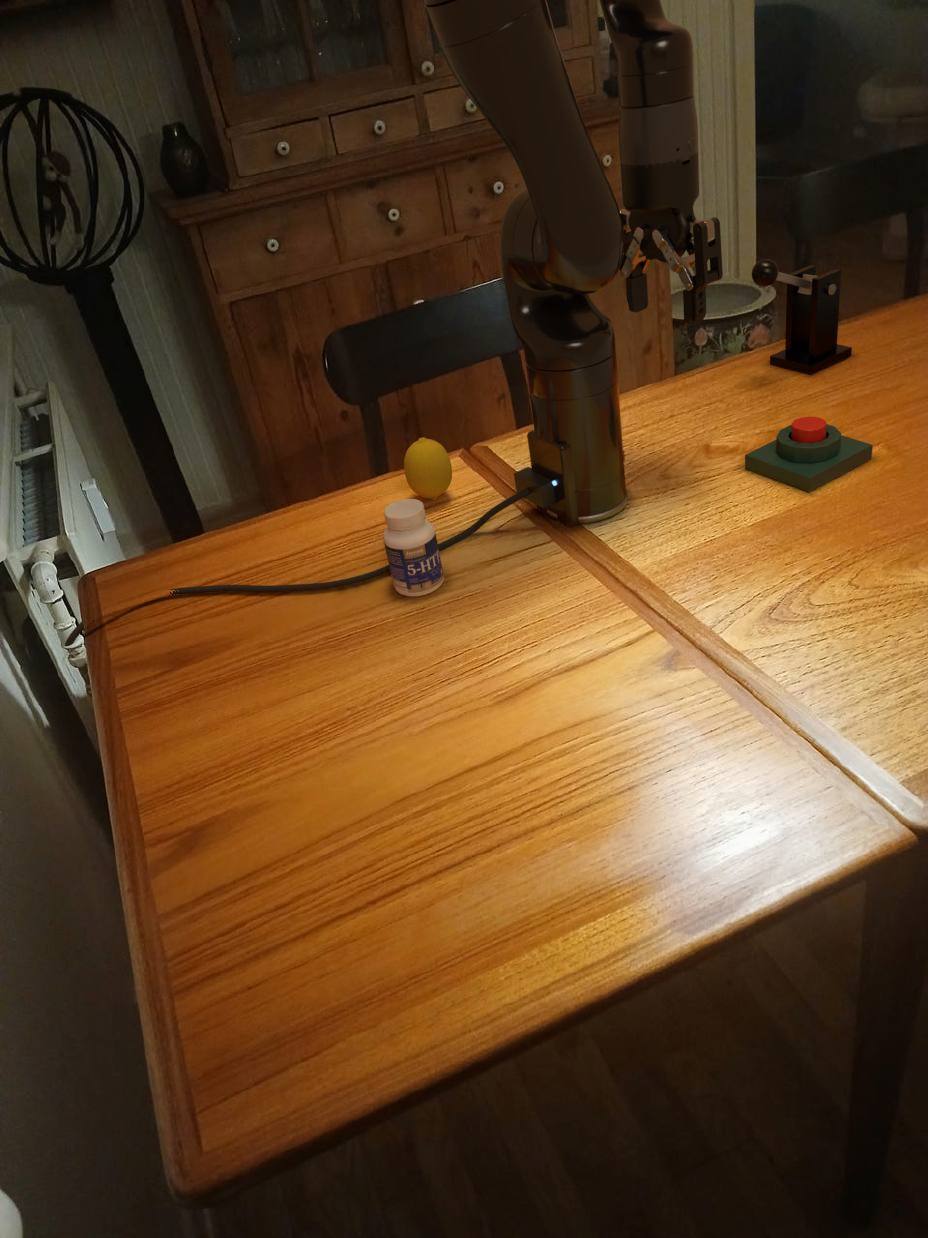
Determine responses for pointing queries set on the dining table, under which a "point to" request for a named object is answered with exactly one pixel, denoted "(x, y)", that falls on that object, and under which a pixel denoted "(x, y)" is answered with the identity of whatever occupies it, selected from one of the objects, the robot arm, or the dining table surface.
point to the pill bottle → (412, 549)
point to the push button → (808, 430)
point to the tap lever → (780, 277)
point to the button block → (808, 458)
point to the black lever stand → (812, 325)
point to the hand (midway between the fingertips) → (665, 316)
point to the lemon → (427, 468)
